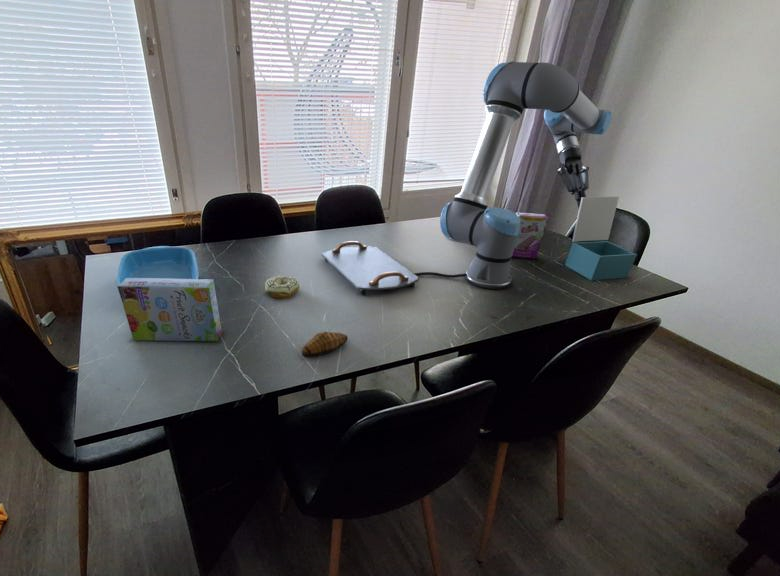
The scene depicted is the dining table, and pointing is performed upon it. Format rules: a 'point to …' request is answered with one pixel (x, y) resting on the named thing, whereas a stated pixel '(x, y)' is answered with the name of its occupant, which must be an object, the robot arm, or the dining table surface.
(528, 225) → the candy bar box
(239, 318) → the dining table surface
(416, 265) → the dining table surface
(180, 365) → the dining table surface
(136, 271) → the casserole dish
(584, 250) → the tote
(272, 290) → the decorated donut
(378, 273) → the serving tray
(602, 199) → the lid
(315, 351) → the croissant
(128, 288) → the snack box
